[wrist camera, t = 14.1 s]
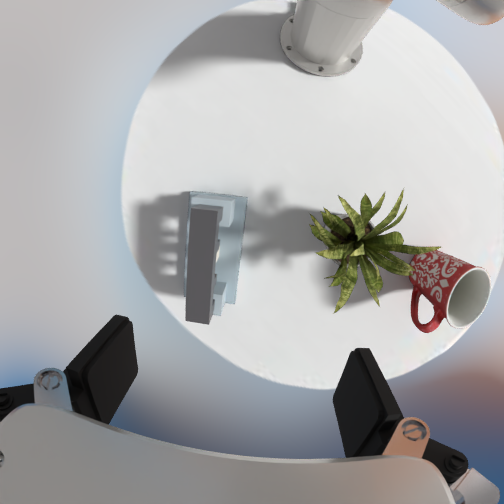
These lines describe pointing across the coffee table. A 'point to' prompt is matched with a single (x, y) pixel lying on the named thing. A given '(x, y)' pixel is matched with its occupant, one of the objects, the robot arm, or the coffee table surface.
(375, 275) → the house plant
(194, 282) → the dark grey bar
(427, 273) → the mug
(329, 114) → the coffee table surface
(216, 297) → the display stand
